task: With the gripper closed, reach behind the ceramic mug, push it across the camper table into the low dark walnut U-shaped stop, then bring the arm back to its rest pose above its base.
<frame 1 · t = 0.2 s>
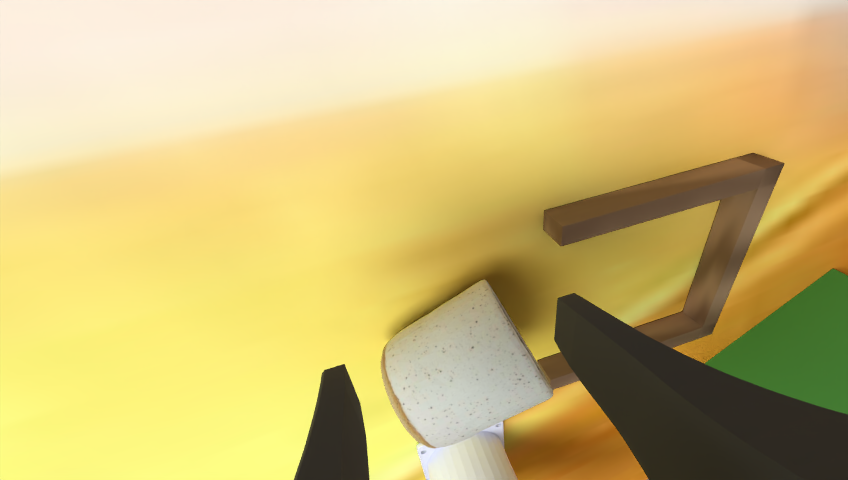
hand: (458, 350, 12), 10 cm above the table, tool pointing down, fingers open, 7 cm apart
hardback book: (758, 339, 40), on the table
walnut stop: (632, 274, 28), on the table
ceramic mug: (455, 328, 27), on the table
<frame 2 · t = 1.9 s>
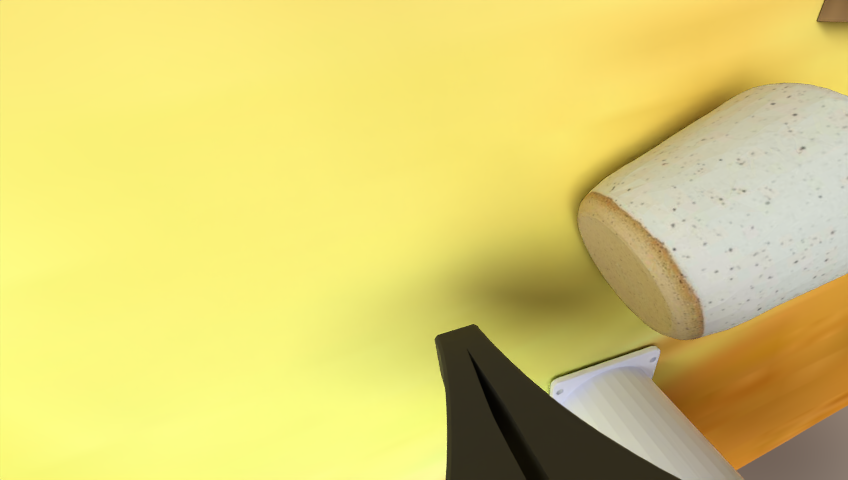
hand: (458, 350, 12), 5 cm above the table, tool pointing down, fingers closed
ceramic mug: (648, 200, 19), on the table
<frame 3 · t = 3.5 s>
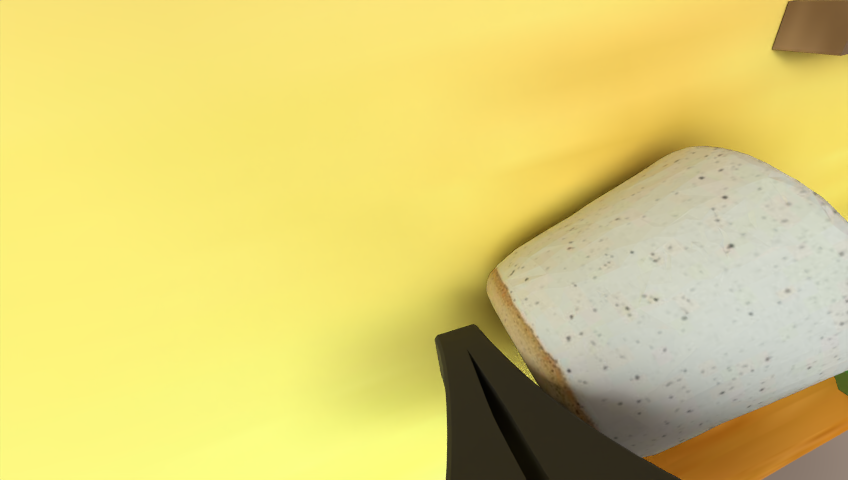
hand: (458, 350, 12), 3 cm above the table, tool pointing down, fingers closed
ceramic mug: (582, 261, 16), on the table, touching gripper
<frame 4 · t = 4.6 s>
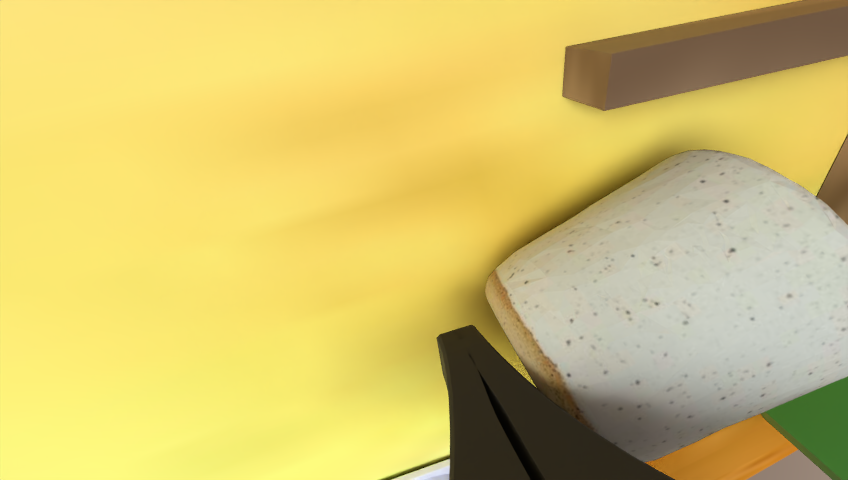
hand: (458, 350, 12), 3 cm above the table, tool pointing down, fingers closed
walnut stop: (709, 215, 16), on the table
ceramic mug: (582, 264, 16), on the table, touching gripper
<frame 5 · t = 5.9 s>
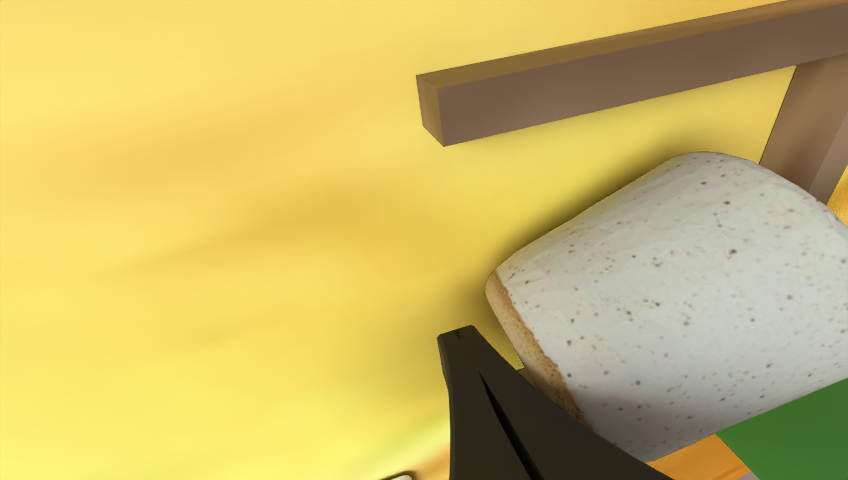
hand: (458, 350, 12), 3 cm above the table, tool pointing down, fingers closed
hardback book: (808, 351, 28), on the table
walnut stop: (619, 240, 16), on the table
ceramic mug: (581, 265, 16), on the table, touching gripper
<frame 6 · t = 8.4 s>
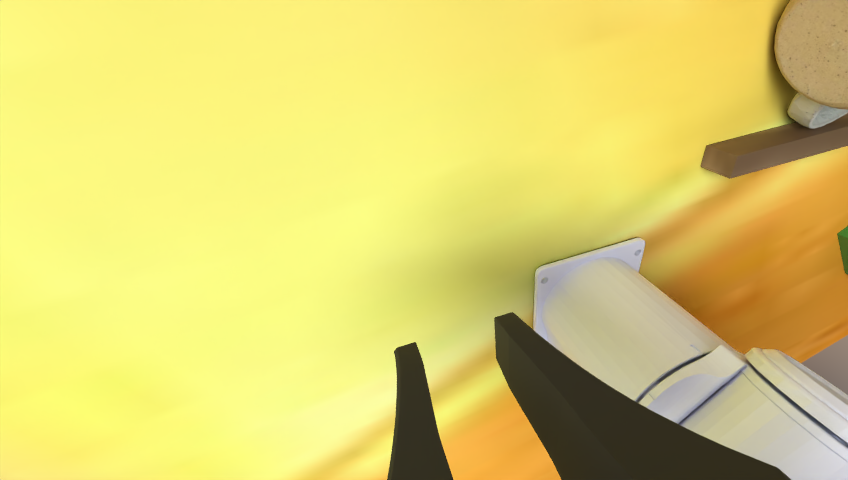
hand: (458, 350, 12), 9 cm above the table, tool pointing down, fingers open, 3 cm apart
ceramic mug: (824, 25, 21), on the table
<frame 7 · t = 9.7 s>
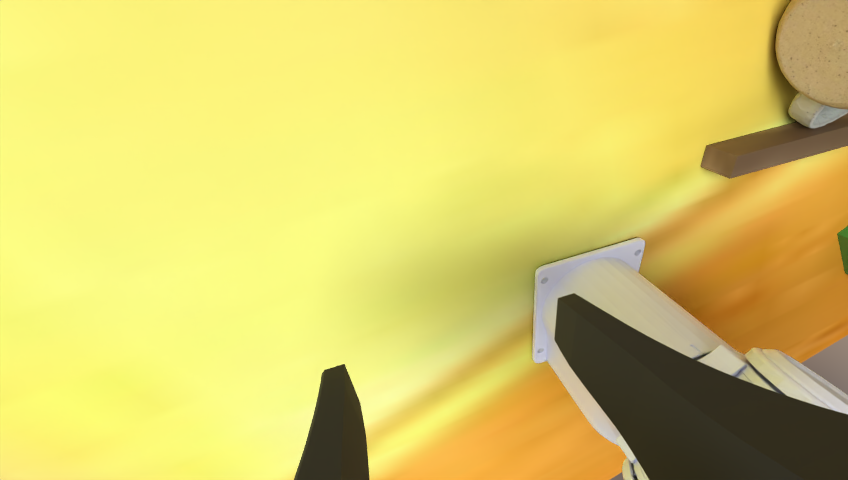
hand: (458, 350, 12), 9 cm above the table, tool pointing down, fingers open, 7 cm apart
ceramic mug: (825, 25, 21), on the table
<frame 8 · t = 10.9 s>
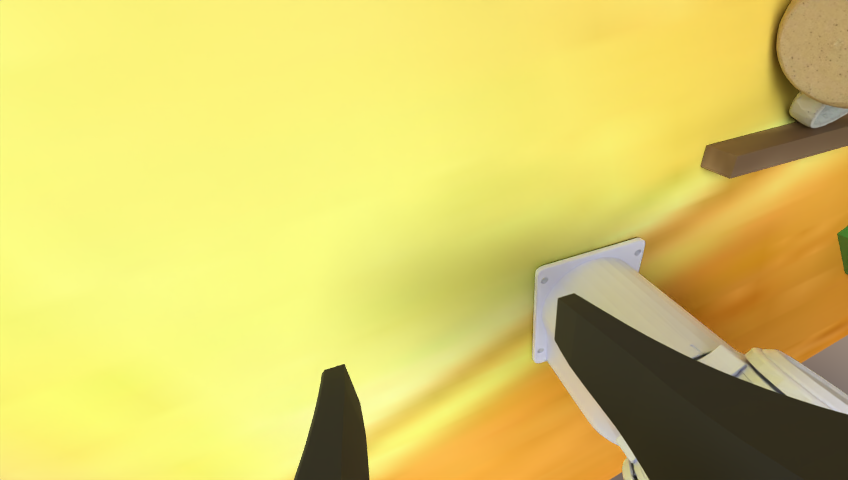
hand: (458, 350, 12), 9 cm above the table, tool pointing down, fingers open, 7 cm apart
ceramic mug: (826, 24, 21), on the table
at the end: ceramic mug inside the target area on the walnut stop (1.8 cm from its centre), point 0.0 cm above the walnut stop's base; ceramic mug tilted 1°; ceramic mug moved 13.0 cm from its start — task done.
